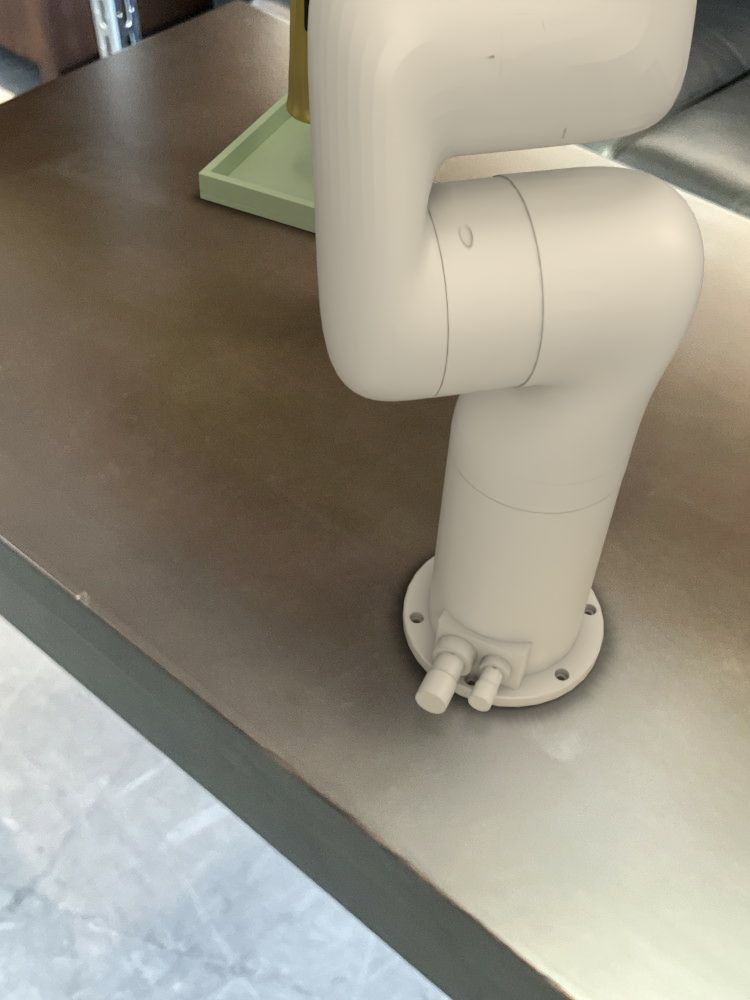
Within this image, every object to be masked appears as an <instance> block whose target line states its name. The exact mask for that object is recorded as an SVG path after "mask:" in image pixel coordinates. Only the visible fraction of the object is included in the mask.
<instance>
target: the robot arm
mask: <svg viewBox="0 0 750 1000" xmlns="http://www.w3.org/2000/svg"><path fill="white" fill-rule="evenodd" d="M697 3H698V0H304V28H305V30H306V31H307V33H308V88H309V109H310V130H311V150H312V171H313V192H314V213H315V233H314V234H315V252H316V253H315V255H316V273H317V286H318V287H317V289H318V302H319V313H320V321H321V329H322V334H323V338H324V343H325V346H326V347H325V348H326V351H327V355H328V357H329V359H330V363H331V365H332V367H333V369H334V371H335V374H336V375H337V376H338V378H339V379H340V380H341V382H342V383H343V384H344V386H346V387H347V388H348V389H349V390H351V391H352V392H353V393H355V394H357V395H359V396H361V397H363V398H364V399H369V400H373V401H379V402H404V401H416V400H424V399H434V398H443V397H450V396H457V395H458V397H457V400H456V402H455V406H454V410H453V414H452V417H451V422H450V430H449V431H450V432H449V438H448V439H449V440H448V446H447V453H446V454H447V456H446V462H445V471H444V477H443V478H444V479H443V486H442V495H441V501H440V503H441V504H440V510H439V511H440V512H439V520H438V527H437V536H436V543H435V550H434V556H432V557H430V558H429V559H428V560H427V561H425V562H424V563H423V564H422V565H421V567H420V568H419V569H418V570H416V572H415V574H414V575H413V577H412V579H411V581H410V583H409V584H408V586H407V590H406V593H405V596H404V600H403V608H402V624H403V632H404V636H405V639H406V642H407V645H408V647H409V649H410V651H411V653H412V654H413V656H414V658H415V660H416V661H417V663H418V664H419V665H420V666H421V667H422V668H423V669H424V671H425V672H426V674H425V676H424V677H423V680H422V682H421V684H420V686H419V687H418V689H417V691H416V693H415V696H414V697H415V699H414V700H415V702H416V703H417V705H418V706H419V707H420V708H422V709H423V710H424V711H427V712H429V713H430V714H434V715H441V714H444V713H445V712H446V710H447V708H448V707H449V704H450V702H451V700H452V698H453V696H454V694H457V695H458V696H460V697H463V698H466V699H467V701H468V704H469V705H470V707H471V708H472V709H475V711H477V712H478V711H479V712H483V713H484V712H489V710H490V709H491V707H492V706H495V707H507V708H508V707H509V708H521V707H528V706H529V707H530V706H536V705H540V704H544V703H546V702H550V701H554V700H556V699H558V698H560V697H562V696H563V695H566V694H567V693H569V692H571V691H572V690H574V689H575V688H576V687H577V686H578V685H580V684H581V683H582V682H583V681H584V680H585V679H586V677H587V676H588V675H589V673H590V672H591V671H592V669H593V668H594V666H595V664H596V661H597V659H598V657H599V655H600V651H601V649H602V648H601V647H602V644H603V641H604V636H605V635H604V632H605V631H604V627H605V626H604V625H605V622H604V617H603V613H602V607H601V605H600V602H599V600H598V598H597V596H596V594H595V592H594V590H593V589H592V586H593V583H594V581H595V580H594V579H595V575H596V573H597V569H598V565H599V561H600V558H601V555H602V553H603V549H604V544H605V541H606V539H607V534H608V530H609V527H610V524H611V521H612V517H613V513H614V510H615V506H616V503H617V499H618V496H619V493H620V489H621V485H622V482H623V479H624V476H625V475H626V471H627V467H628V464H629V461H630V457H631V455H632V454H631V453H632V450H633V447H634V444H635V441H636V437H637V434H638V431H639V429H640V428H639V427H640V425H641V422H642V420H643V417H644V414H645V412H646V409H647V406H648V405H649V402H650V401H651V398H652V396H653V394H654V392H655V390H656V388H657V385H659V382H660V380H661V379H662V377H663V375H664V373H665V372H666V370H667V369H668V367H669V365H670V364H671V362H672V360H673V359H674V357H675V356H676V354H677V352H678V350H679V348H680V346H681V344H682V343H683V341H684V338H686V336H687V333H688V332H689V329H690V326H691V324H692V322H693V319H694V316H695V313H696V311H697V308H698V304H699V301H700V298H701V293H702V287H703V283H704V275H705V250H704V242H703V241H704V240H703V237H702V233H701V229H700V226H699V225H700V224H699V222H698V220H697V217H696V216H695V213H694V211H693V210H692V208H691V206H690V205H689V203H688V202H687V200H686V199H685V198H684V197H683V196H682V195H681V194H680V193H679V192H678V191H677V190H676V188H674V187H673V186H671V184H668V183H667V182H666V181H664V180H663V179H661V178H659V177H657V176H656V175H652V174H650V173H647V172H645V171H641V170H638V169H632V168H627V167H619V166H605V165H604V166H603V165H600V166H599V165H596V166H594V165H593V166H575V167H574V166H573V167H564V168H554V169H543V170H534V171H532V170H531V171H524V172H523V171H522V172H512V173H511V172H510V173H502V174H495V175H492V176H489V177H480V178H472V179H471V178H470V179H469V178H468V179H459V180H451V181H440V182H439V181H438V182H434V179H435V177H436V176H437V173H438V171H439V170H440V167H441V166H442V165H443V163H445V162H446V161H447V160H449V159H452V158H456V157H463V156H473V155H475V156H476V155H485V154H495V153H505V152H515V151H525V150H536V149H545V148H555V147H563V146H565V147H566V146H572V145H581V144H588V143H594V142H601V141H603V142H604V141H608V140H613V139H618V138H623V137H627V136H631V135H634V134H636V133H639V132H641V131H644V130H647V129H648V128H649V129H650V127H652V126H654V125H656V124H657V123H658V122H660V121H661V120H662V119H663V118H664V117H666V115H668V113H669V112H670V111H671V109H672V108H673V106H674V104H675V103H676V100H677V98H678V96H679V94H680V92H681V90H682V87H683V84H684V80H685V77H686V74H687V70H688V65H689V58H690V55H691V54H690V53H691V49H692V48H691V47H692V41H693V35H694V27H695V22H696V21H695V19H696V13H697V5H698V4H697Z"/></svg>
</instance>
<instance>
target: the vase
mask: <svg viewBox="0 0 750 1000" xmlns="http://www.w3.org/2000/svg"><path fill="white" fill-rule="evenodd" d="M288 51H289V53H288V55H289V56H288V75H287V77H288V82H287V84H288V85H287V92H288V98H287V103H286V109H287V111H288V113H289V114H290V115H291V116H292V117H293V118H295V119H296V120H298V121H300V122H303V123H307V124H310V109H309V88H308V33H307V31H306V30H305V28H304V0H289V50H288Z"/></svg>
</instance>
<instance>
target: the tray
mask: <svg viewBox="0 0 750 1000" xmlns="http://www.w3.org/2000/svg"><path fill="white" fill-rule="evenodd" d="M287 98H288V91H287V92H286V93H285V94H284V95H283V96H282V97H280V98H279V99H278V100H277V101H276V102H275V103H274V104H273V105H271V106H270V107H269V108H268V109H267V110H266V111H265V112H264V113H263V114H262V115H260V117H258V119H256V120H255V121H254V122H253V123H252V124H251V125H250V126H248V128H246V129H245V130H244V131H243V132H242V133H241V134H240V135H239V136H237V138H235V139H234V140H233V141H232V142H231V143H229V145H227V146H226V147H225V148H224V149H223V150H222V151H220V152H219V154H218V155H216V156H215V158H213V159H212V160H211V161H210V162H209V163H208V164H207V165H205V167H203V168H202V169H201V170H200V171H199V172H198V185H199V186H198V187H199V198H200V199H202V200H205V201H207V202H212V203H214V204H219V205H221V206H225V207H227V208H231V209H234V210H237V211H241V212H244V213H248V214H251V215H254V216H258V217H261V218H264V219H267V220H271V221H273V222H277V223H281V224H284V225H287V226H290V227H293V228H297V229H300V230H303V231H307V232H310V233H312V234H315V213H314V192H313V171H312V150H311V130H310V124H307V123H303V122H300V121H298V120H296V119H295V118H293V117H292V116H291V115H290V114H289V113H288V111H287V109H286V103H287Z"/></svg>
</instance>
